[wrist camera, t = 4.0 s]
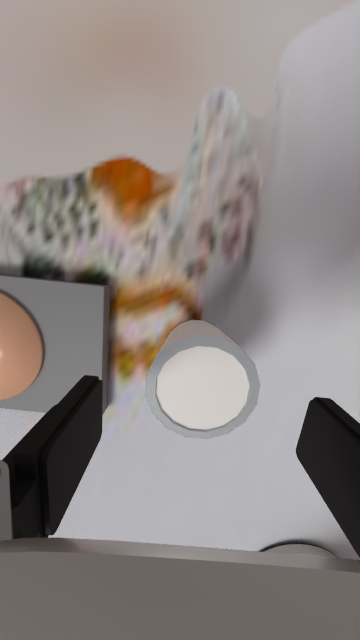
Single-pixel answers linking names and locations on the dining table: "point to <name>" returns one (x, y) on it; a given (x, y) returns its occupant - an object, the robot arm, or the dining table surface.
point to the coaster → (18, 348)
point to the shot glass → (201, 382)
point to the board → (62, 336)
